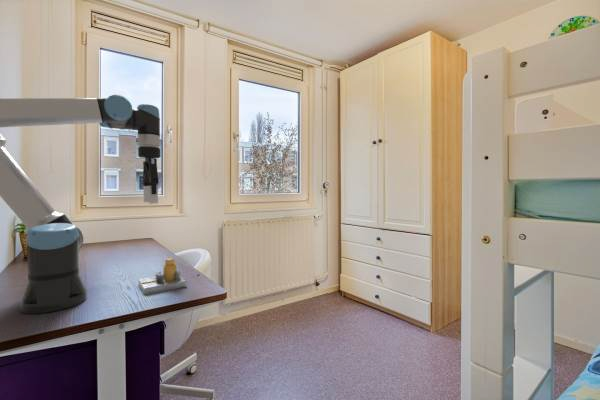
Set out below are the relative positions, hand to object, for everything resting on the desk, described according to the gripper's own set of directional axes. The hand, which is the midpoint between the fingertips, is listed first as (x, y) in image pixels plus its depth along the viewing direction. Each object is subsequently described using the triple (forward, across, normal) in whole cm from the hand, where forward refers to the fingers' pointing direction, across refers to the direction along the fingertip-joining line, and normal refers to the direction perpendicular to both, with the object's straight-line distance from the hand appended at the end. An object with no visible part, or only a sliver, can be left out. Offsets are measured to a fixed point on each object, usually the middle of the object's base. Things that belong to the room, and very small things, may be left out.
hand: (150, 202), depth 113 cm
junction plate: (+29, -14, -1) cm, 32 cm away
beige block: (+27, -14, -4) cm, 30 cm away
